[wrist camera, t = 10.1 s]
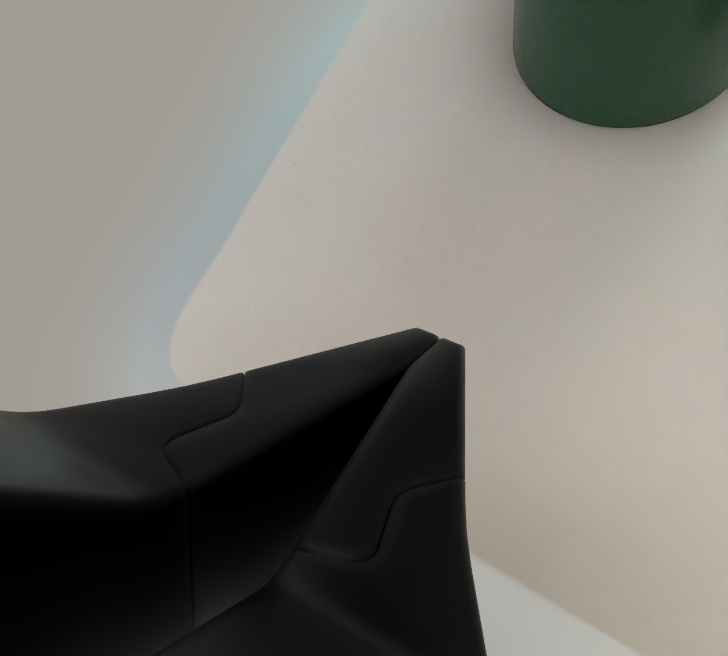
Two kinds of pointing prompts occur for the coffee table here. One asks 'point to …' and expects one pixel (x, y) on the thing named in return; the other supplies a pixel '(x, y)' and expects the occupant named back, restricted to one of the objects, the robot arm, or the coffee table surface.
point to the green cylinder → (622, 57)
